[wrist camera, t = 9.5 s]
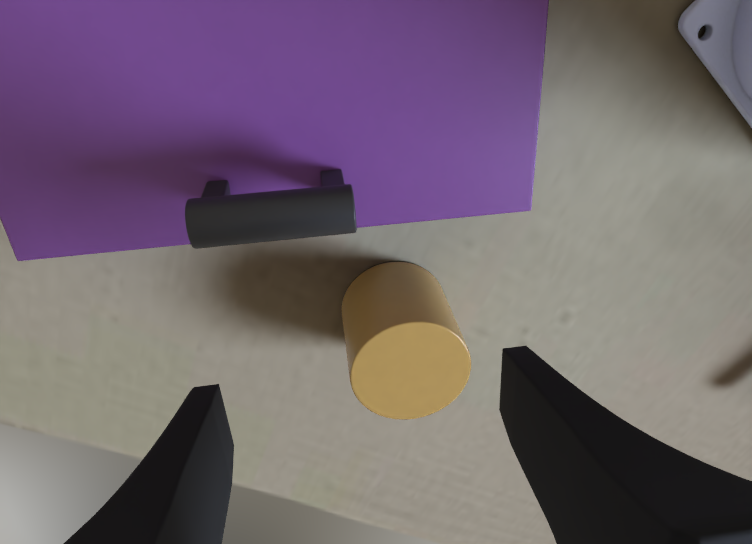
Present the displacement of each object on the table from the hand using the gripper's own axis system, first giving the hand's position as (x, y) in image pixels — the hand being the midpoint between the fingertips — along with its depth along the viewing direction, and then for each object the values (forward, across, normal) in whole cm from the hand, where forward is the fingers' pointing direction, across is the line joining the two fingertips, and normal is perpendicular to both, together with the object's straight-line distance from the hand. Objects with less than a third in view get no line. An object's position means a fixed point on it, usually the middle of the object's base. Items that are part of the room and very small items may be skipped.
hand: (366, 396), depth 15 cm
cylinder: (+9, -2, +4) cm, 10 cm away
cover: (+7, +2, -7) cm, 10 cm away
